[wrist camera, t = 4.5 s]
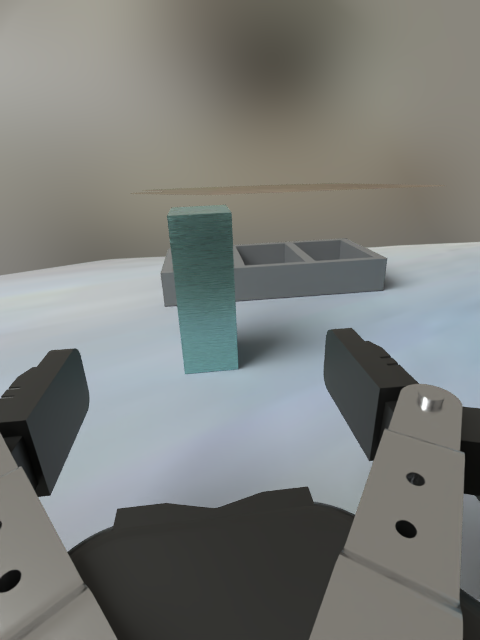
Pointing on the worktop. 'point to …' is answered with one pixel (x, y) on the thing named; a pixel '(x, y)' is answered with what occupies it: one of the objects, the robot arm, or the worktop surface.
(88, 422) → the worktop surface
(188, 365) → the brushed teal metal block
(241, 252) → the slot rack
